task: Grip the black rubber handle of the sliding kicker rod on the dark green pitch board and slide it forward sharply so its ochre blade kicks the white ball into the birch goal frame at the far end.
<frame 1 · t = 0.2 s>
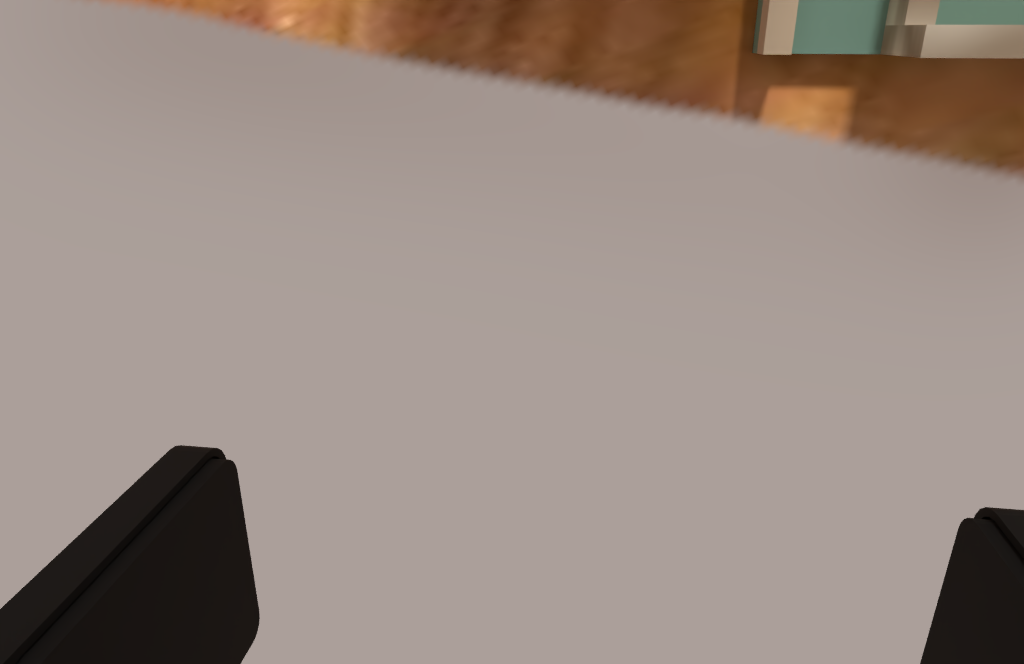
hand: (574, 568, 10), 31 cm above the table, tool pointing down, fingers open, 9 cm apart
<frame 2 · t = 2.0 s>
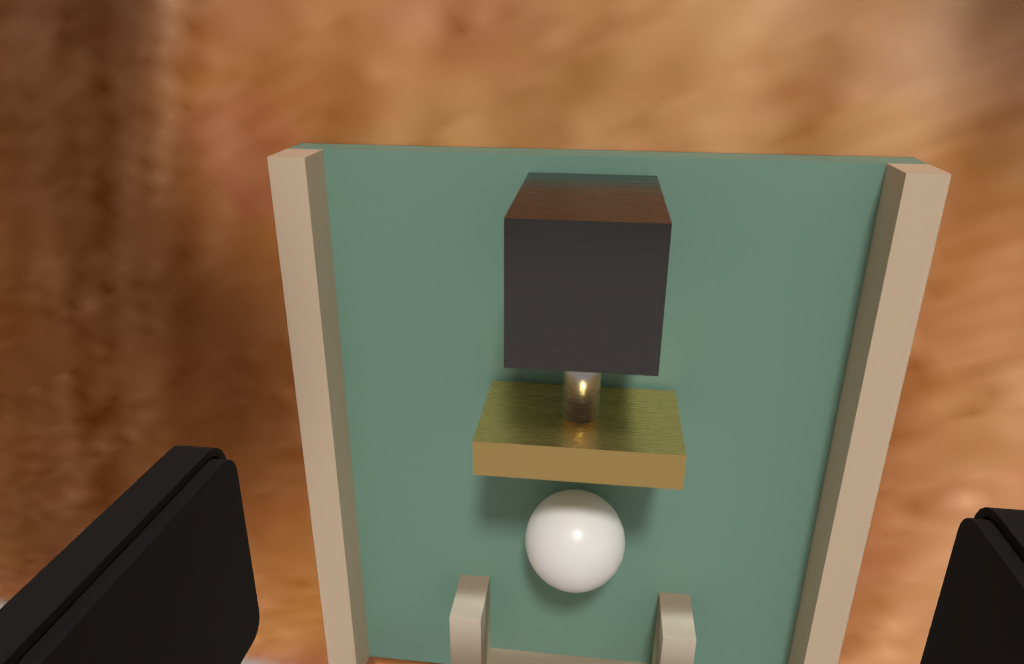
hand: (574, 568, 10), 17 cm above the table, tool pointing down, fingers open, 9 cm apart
ball: (574, 540, 27), point 3 cm above the table, touching pitch
kicker: (583, 337, 22), point 5 cm above the table, slide at 0.0 cm
goal: (573, 601, 32), resting on pitch
pitch: (580, 439, 29), on the table
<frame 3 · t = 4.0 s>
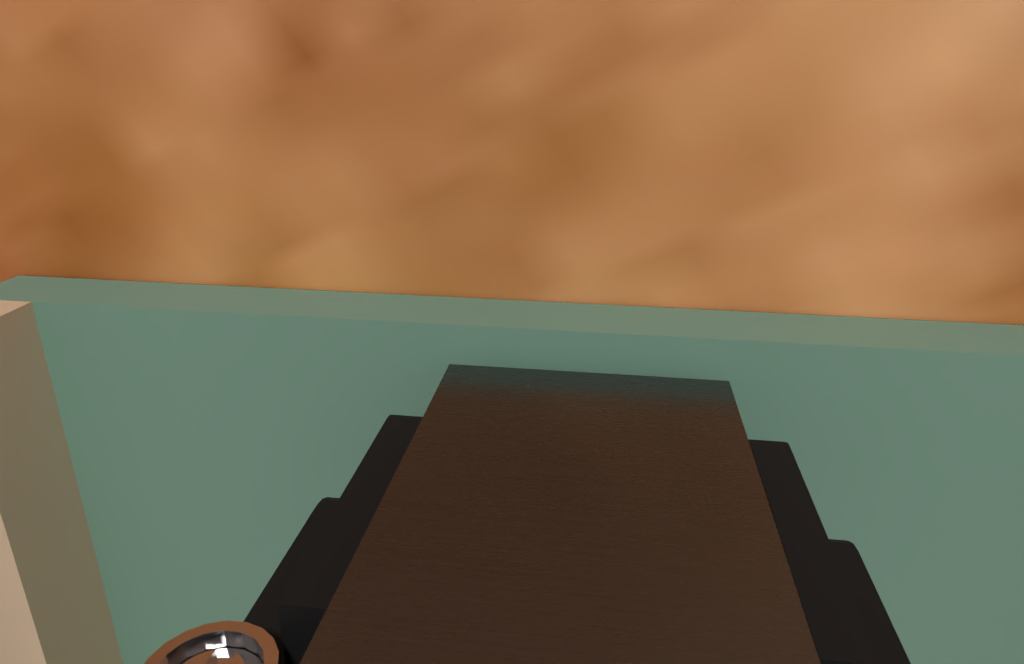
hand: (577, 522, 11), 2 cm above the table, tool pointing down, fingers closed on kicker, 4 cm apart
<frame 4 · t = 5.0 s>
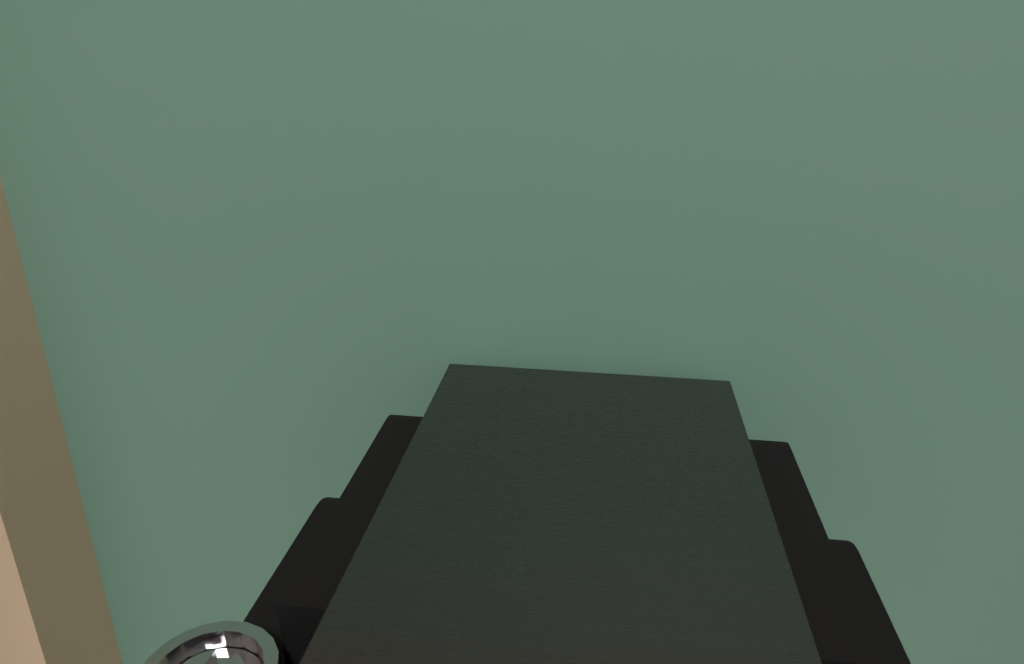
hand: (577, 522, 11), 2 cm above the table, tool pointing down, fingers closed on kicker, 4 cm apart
pitch: (580, 528, 13), on the table
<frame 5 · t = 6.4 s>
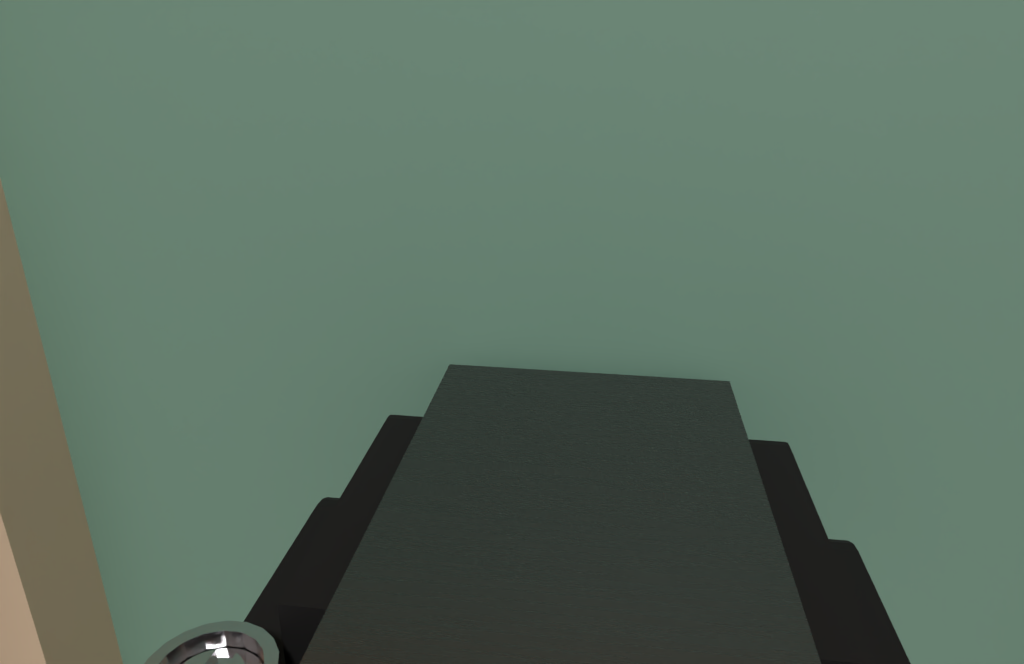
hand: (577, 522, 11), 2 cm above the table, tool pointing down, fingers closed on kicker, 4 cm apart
pitch: (580, 524, 13), on the table
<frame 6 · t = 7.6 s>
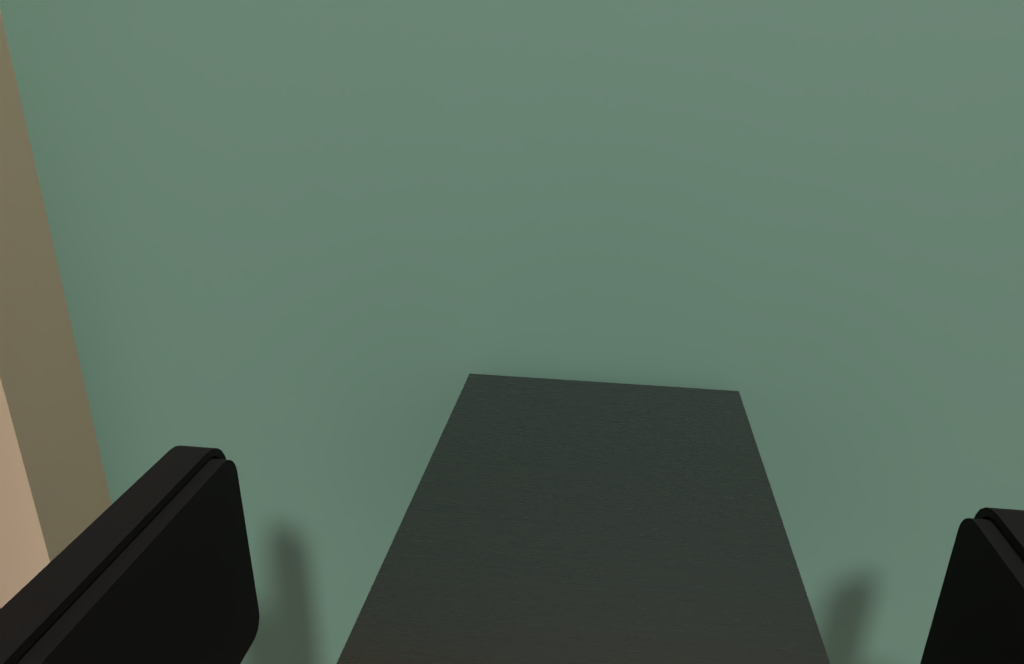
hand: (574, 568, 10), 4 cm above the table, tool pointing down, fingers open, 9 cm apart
pitch: (592, 528, 14), on the table
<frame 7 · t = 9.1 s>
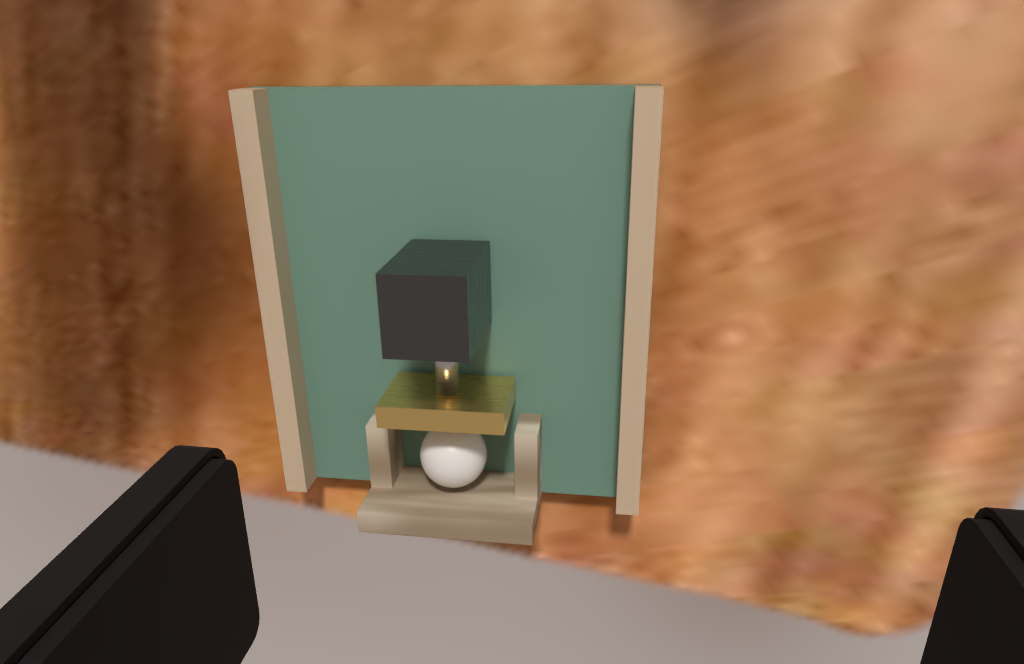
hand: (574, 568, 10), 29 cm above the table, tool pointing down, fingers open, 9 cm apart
ball: (453, 453, 40), point 3 cm above the table, tilted 157°, touching pitch
kicker: (441, 341, 36), point 5 cm above the table, slide at 6.8 cm
goal: (464, 431, 43), resting on pitch
pitch: (459, 300, 40), on the table
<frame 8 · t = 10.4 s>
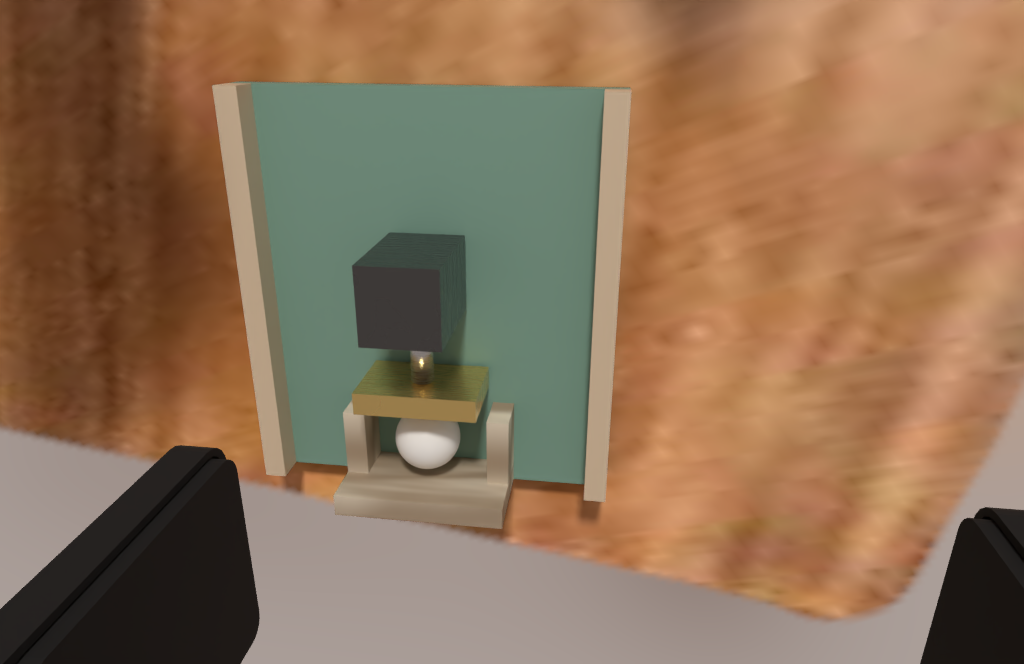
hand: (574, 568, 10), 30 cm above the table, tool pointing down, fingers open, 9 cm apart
ball: (428, 436, 41), point 3 cm above the table, tilted 148°, touching pitch
kicker: (416, 332, 37), point 4 cm above the table, slide at 6.8 cm
goal: (440, 418, 44), resting on pitch
pitch: (435, 292, 41), on the table
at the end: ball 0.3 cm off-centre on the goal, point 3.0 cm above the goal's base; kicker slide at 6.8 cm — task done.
